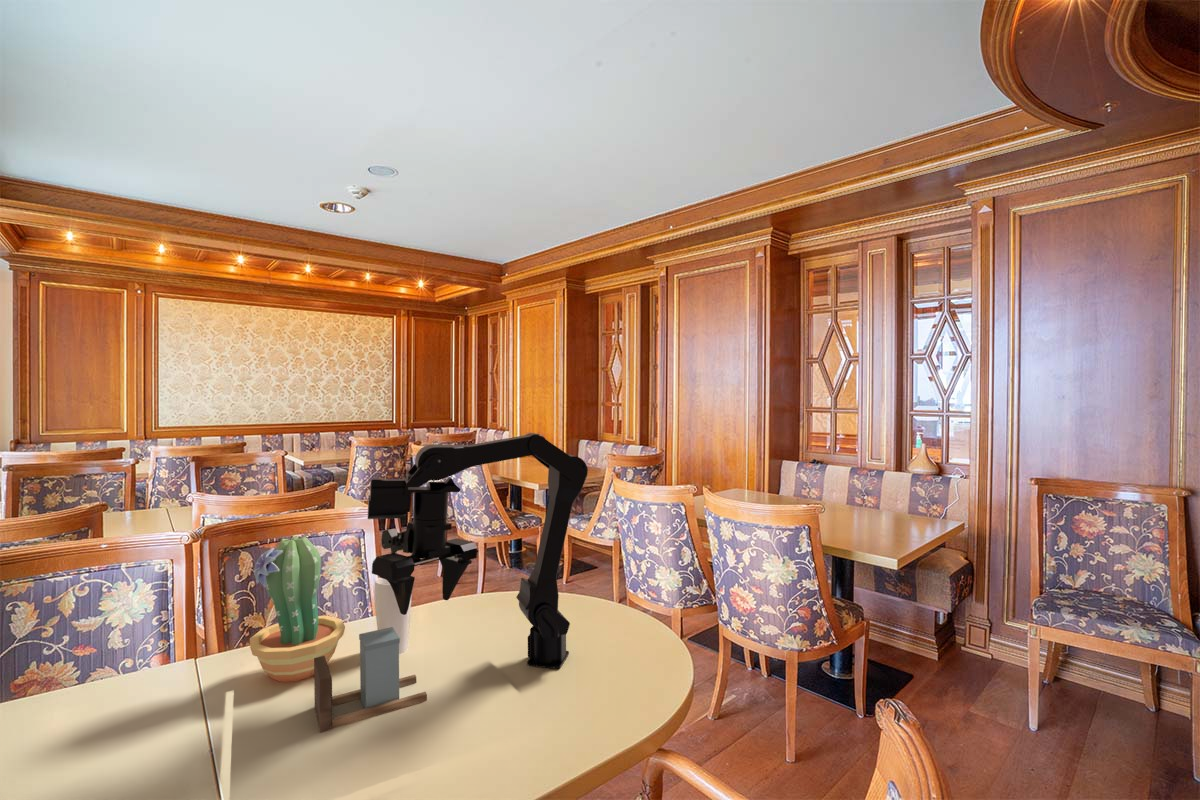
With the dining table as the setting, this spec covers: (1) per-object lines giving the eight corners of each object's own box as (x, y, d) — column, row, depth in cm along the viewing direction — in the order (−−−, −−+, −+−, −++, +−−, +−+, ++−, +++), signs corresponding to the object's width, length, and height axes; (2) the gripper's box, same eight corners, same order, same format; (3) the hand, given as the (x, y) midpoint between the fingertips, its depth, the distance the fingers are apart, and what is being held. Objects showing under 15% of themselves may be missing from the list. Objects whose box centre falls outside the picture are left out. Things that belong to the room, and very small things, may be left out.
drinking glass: (400, 665, 105) (399, 585, 105) (367, 662, 107) (367, 583, 106) (418, 649, 112) (418, 574, 112) (388, 646, 113) (387, 572, 113)
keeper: (393, 689, 94) (392, 626, 94) (400, 703, 90) (399, 638, 90) (359, 698, 91) (359, 634, 91) (365, 713, 87) (364, 646, 87)
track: (414, 686, 98) (414, 635, 97) (427, 708, 91) (426, 652, 91) (311, 715, 89) (311, 658, 89) (317, 741, 82) (316, 680, 82)
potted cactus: (261, 663, 106) (260, 531, 106) (350, 651, 111) (349, 525, 111) (237, 706, 92) (234, 554, 91) (340, 690, 96) (338, 545, 96)
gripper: (440, 504, 110) (435, 584, 110) (354, 517, 95) (348, 610, 94) (481, 512, 104) (476, 596, 104) (396, 528, 89) (391, 627, 88)
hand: (425, 606), depth 98 cm, fingers open, 9 cm apart
